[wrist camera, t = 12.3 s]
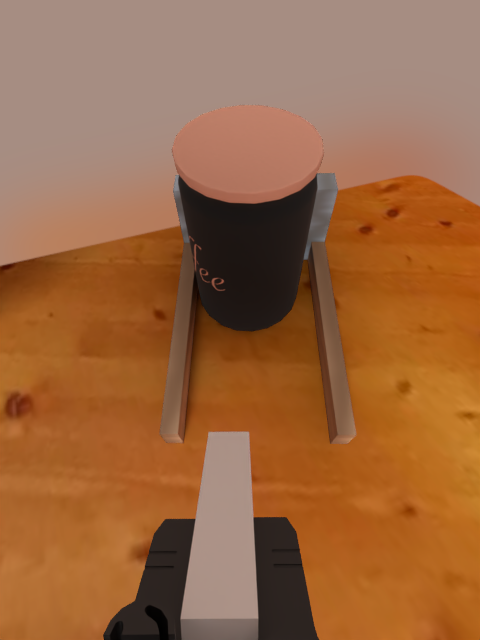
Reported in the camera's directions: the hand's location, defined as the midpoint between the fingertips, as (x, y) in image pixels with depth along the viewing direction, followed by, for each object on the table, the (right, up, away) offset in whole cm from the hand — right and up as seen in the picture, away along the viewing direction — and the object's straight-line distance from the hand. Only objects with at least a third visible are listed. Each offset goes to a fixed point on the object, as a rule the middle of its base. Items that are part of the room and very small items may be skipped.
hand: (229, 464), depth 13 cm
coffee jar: (+1, +8, +27) cm, 28 cm away
